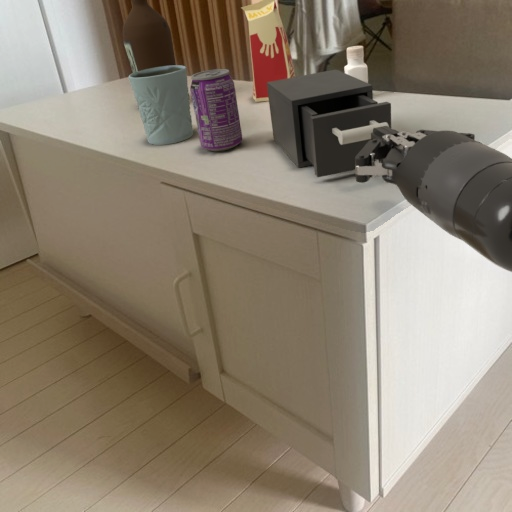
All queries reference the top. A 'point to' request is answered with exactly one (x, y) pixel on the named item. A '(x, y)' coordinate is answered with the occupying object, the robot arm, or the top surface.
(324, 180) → the top surface
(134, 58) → the olive oil
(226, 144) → the beverage can
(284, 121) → the cabinet
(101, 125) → the top surface
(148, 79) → the embossed ceramic cup
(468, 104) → the top surface
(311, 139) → the drawer
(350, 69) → the pepper shaker
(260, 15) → the milk carton
